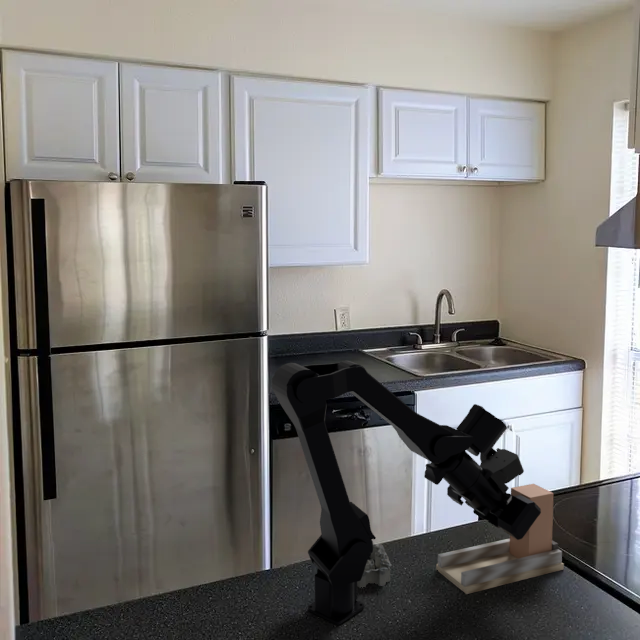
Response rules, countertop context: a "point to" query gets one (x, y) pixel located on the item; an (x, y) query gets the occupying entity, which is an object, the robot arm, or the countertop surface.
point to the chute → (494, 565)
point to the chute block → (535, 523)
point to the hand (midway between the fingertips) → (518, 528)
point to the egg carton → (376, 575)
